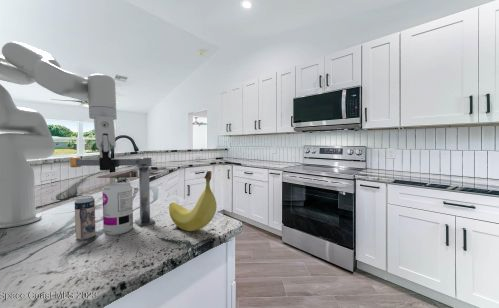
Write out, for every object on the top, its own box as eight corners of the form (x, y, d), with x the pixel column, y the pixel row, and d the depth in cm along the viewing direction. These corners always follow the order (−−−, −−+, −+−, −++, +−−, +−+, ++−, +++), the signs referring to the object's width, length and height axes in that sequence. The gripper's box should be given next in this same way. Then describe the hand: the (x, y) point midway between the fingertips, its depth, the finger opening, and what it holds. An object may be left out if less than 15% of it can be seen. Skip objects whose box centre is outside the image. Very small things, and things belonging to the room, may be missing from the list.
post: (135, 223, 78) (134, 167, 77) (149, 219, 82) (148, 166, 81) (140, 226, 74) (139, 168, 74) (155, 223, 78) (154, 167, 77)
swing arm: (153, 165, 80) (153, 157, 80) (148, 167, 75) (148, 157, 75) (76, 166, 78) (76, 157, 78) (65, 167, 74) (65, 158, 73)
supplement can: (102, 237, 66) (100, 187, 65) (105, 228, 73) (104, 183, 73) (133, 232, 70) (132, 185, 69) (133, 224, 77) (132, 181, 76)
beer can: (85, 241, 63) (83, 199, 63) (71, 239, 64) (70, 198, 64) (99, 234, 68) (98, 195, 67) (86, 233, 69) (85, 195, 68)
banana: (163, 224, 77) (162, 167, 76) (178, 220, 81) (177, 165, 80) (205, 243, 62) (205, 172, 61) (221, 236, 67) (220, 170, 66)
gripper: (119, 111, 69) (121, 170, 69) (114, 117, 81) (116, 167, 81) (89, 110, 64) (92, 172, 65) (88, 116, 76) (91, 169, 77)
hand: (105, 169), depth 73 cm, fingers closed
